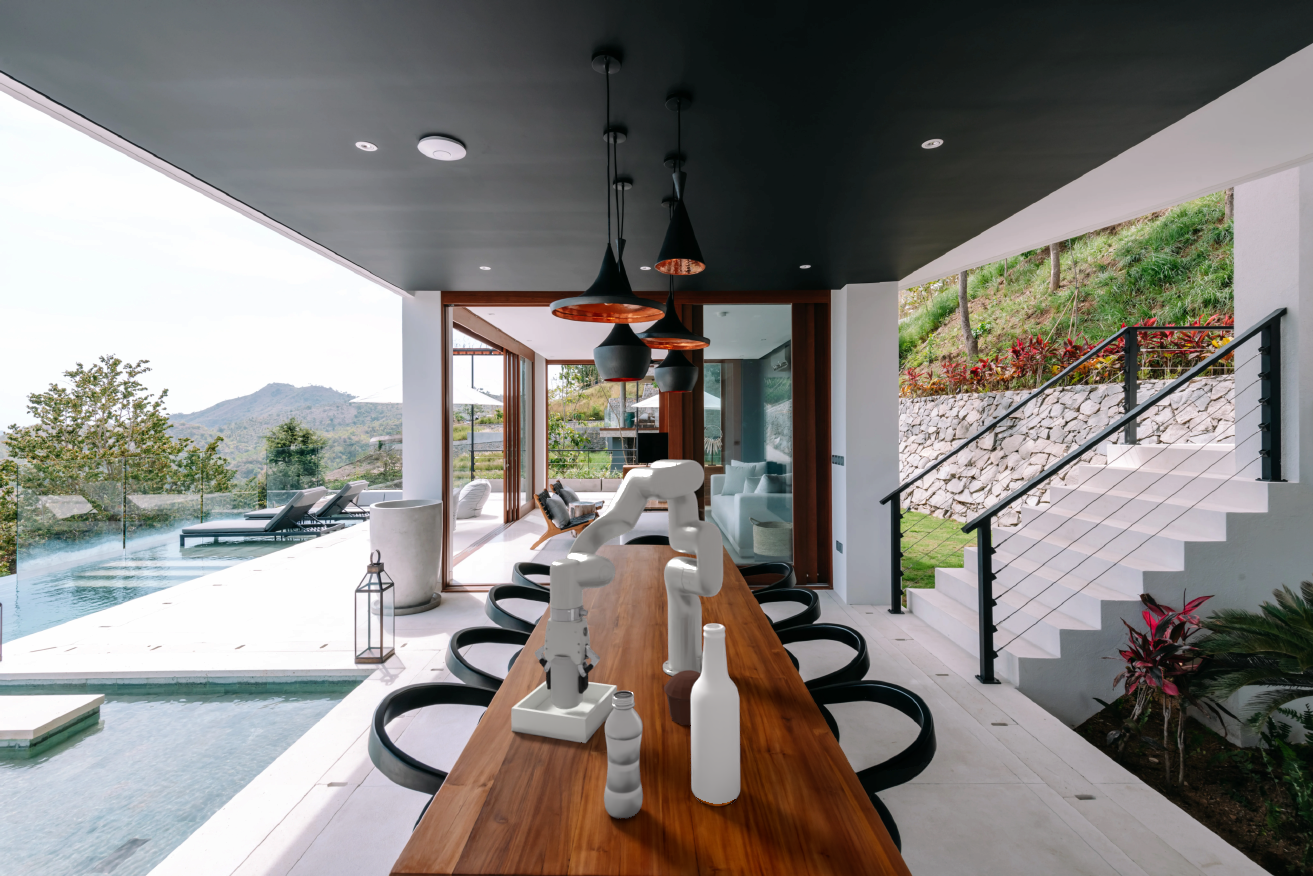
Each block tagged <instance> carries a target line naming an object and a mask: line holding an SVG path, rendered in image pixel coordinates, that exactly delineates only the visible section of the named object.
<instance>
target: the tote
mask: <svg viewBox="0 0 1313 876" xmlns="http://www.w3.org/2000/svg"><path fill="white" fill-rule="evenodd" d="M617 691H618V685H614V684H606V683H601V682H599V683H598V682H592V681H591V682H590V681H588V688H587V689H586V690H585V691H584V692H583V701H582V702H581V703H580V704H579V705H578V706H577V707H575V708H572V709H559V708H556V707H555V706H554V705H553V704H552V703H551V689H550V690H548V689H547V684H546V680H545V681H544V682H542V683H541V684H540V685H538V686H537V687H536V688H535V689H534V690H532V691H531V692H530V693H528V694H527V695H526V696H525V697H523V698H522V699H521V700H520V701H519V702H517V703H515V705H513V706H512V707H511V709H510V710H511V713H510V714H511V715H510V716H511V726H510V727H511V732H516V733H522V734H527V735H534V736H540V737H547V738H552V739H559V740H562V741H569V742H570V741H571V742H575V743H581V742H582V743H583V744H587V742H588V741H589V740H590V739H591V737H592V736H593V735H594V734H595V732H596V731H598V729H599V728H600V727H601V726H602V725H603V723H604V722H606V720H607V718H608V716H609V715H610V713H611V712H612V710H613V709H614V708H613V707H612V702H613V700H612V696H613V693H615V692H617ZM582 743H581V744H582Z"/></svg>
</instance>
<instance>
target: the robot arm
mask: <svg viewBox="0 0 1313 876" xmlns="http://www.w3.org/2000/svg"><path fill="white" fill-rule="evenodd" d="M704 481H705V472H704V468H703V466H702V465H701V464H700V463H699V462H697V461H696V460H691V459H660V460H656V461H653V462H652V463H651V464H650V466H648V467H647V466H646V467H645V466H643V467H642V466H640V467H633V468H632V469H630V470H629V471H627V473H626V475H624V478H623V479H622V481H621V483H620V485H619V487H618V488H617V490H616V492H615V494H614V496H613V498H612V499H611V501H609V502H610V503H609V505H608V506H607V508H606V510H605V511H604V512H603V513H602V514H601V515H599V516H598V517H597V518H596V519H594V521H592V522H591V523H590V524H589V525H588V526H586V527H585V528H584V529H583V530H582V531H581V532H580V533H579V534H578V536H577V537H576V538H575V540H574V542H573V543H572V545H571V547H570V548H569V550H568V552H567V554H566V556H565V558H560V559H556V560H554V561H552V562H551V564H550V567H549V597H550V598H549V611H550V613H549V615H550V617H549V618H548V619H547V623H546V626H545V627H546V628H545V634H544V635H545V636H544V644H543V645H542V646H541V647H539V648H538V649H537V650H535V651H534V656H535V657H536V658H537V660H538V663H539V664H540V665H541V667H542V668H543V671H544V672H545V681H546V684H547V689H548V690H550V689H551V660H552V659H553V658H555V656H554V655H556V656H559V657H571V658H570V659H571V660H572V661H573V662H574V663H575V664H576V665H578V670H579V672H580V674H581V675H580V676H579V694H582V693H583V692H584V691H585V690H586V689H587V688H588V682H589V673H591V671H592V670H593V669H594V668H595V667H596V665H598V663H599V661H600V660H601V657H600V656H599V655H598V654H597V653H596V652H595V651H594V650H593V649H592V648H591V638H590V631H589V630H590V629H589V624H588V621H587V620H588V619H587V618H586V617H585V616H588V614H589V611H588V609H585V608H584V605H583V604H584V603H583V601H584V599H583V593H584V592H583V590H585V589H601V588H604V587H606V586H608V585H610V584H611V583H612V582H613V580H614V579H615V576H616V567H615V564H614V563H613V561H612V560H611V559H610V558H608V557H605V556H604V555H598V554H596V553H597V552H598V551H599V549H600V548H601V547H602V546H603V545H605V544H606V543H607V542H609V541H612V540H613V539H615V538H618V537H621V536H623V535H625V534H627V533H630V532H631V531H633V529H635V528H636V526H637V523H638V521H639V520H640V517H641V516H642V514H643V512H644V510H645V508H646V506H647V505H648V503H649V502H650V501H655V502H656V501H658V502H661V501H662V502H664V501H666V503H667V510H668V511H667V512H668V515H667V516H668V541H669V546H670V548H671V549H673V551H676V552H679V553H681V554H682V553H683V554H687V555H694V556H696V558H693V557H689V556H674V557H673V558H671V559H670V560H668V561H667V563H666V564H665V566H664V571H663V575H664V576H663V577H664V578H663V579H664V584H665V589H666V594H667V629H668V630H667V633H668V634H667V639H668V641H667V645H668V647H667V648H668V649H667V650H668V652H667V653H668V654H667V655H668V659H667V660H666V661H665V662H663V664H662V670H663V672H664V673H665V674H667V675H668V676H671V677H672V676H673V675H675V674H677V673H679V672H681V671H685V670H693V671H697V672H699V673H701V672H702V662H703V646H702V643H703V641H702V639H703V637H702V636H703V634H702V632H703V631H702V629H703V628H702V627H703V626H702V623H703V622H702V621H703V619H702V617H703V616H702V613H703V611H702V610H703V609H702V603H701V599H700V597H706V598H710V597H711V598H712V597H714V596H716V595H718V594H719V592H720V591H721V589H722V587H723V581H724V543H723V537H722V536H723V535H722V533H721V530H720V529H719V526H717V525H716V524H715V523H714V522H710V521H707V520H700V517H699V507H698V506H699V505H698V499H697V495H696V493H695V492H696V491H697V490H699V489H700V488H701V486H702V485H703V483H704ZM699 596H700V597H699ZM588 659H590V660H591V661H590V663H588V662H587V660H588ZM582 664H583V665H582Z"/></svg>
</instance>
